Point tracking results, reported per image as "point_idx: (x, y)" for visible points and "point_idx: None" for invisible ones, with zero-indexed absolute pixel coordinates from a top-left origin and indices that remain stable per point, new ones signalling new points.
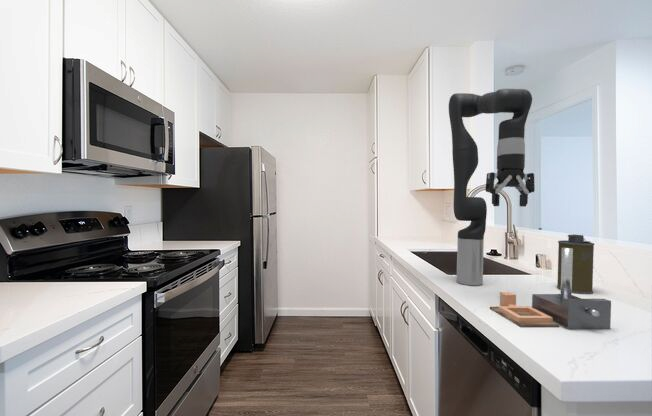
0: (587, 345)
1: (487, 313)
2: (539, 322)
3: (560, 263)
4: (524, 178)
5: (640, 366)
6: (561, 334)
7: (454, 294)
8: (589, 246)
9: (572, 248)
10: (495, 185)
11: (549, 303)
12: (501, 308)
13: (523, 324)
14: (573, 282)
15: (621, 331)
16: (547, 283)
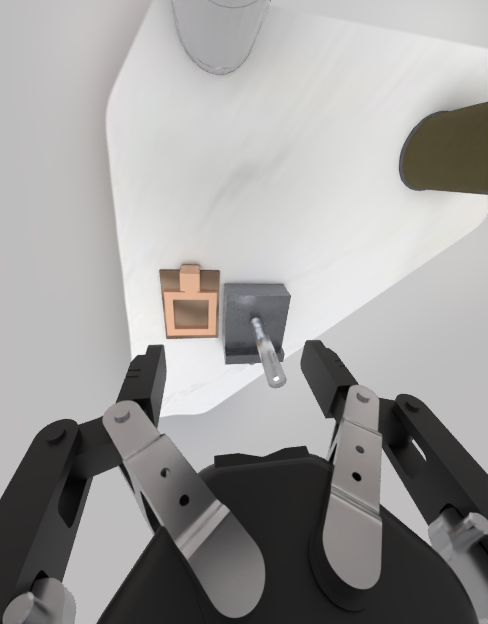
0: (208, 373)
1: (144, 290)
2: None
3: (462, 136)
4: (448, 538)
5: (218, 400)
6: (203, 353)
7: (119, 166)
8: None
9: None
10: (132, 473)
11: (225, 327)
12: (164, 300)
13: (170, 338)
14: (419, 178)
15: None
16: (443, 69)
